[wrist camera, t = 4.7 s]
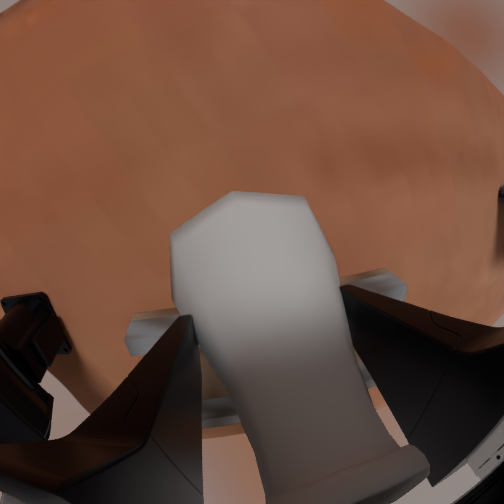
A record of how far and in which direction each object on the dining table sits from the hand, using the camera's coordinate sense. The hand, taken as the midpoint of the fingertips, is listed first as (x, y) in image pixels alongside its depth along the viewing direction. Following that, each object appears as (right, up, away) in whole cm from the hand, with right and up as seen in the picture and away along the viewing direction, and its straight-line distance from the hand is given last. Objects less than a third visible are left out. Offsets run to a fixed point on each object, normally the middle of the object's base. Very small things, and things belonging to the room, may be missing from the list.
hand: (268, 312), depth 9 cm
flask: (-1, +1, +3) cm, 3 cm away
